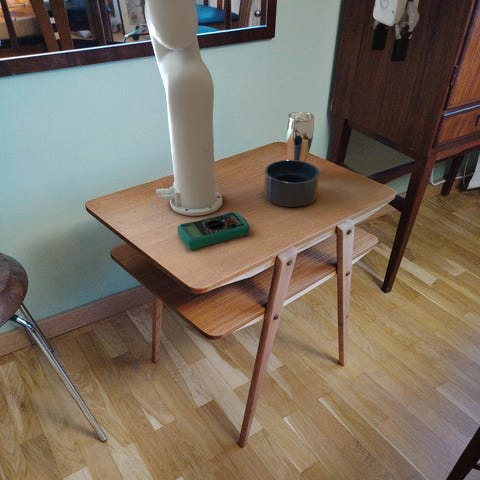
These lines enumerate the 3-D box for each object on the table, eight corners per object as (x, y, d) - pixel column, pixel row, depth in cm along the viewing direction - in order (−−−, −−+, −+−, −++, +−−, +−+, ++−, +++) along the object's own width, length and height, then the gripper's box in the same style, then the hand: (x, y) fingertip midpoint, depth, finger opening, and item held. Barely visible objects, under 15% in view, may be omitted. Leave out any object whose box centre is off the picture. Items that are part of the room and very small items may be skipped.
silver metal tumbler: (296, 166, 125) (301, 109, 114) (313, 174, 121) (321, 116, 111) (277, 172, 122) (281, 115, 111) (295, 181, 118) (300, 123, 107)
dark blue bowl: (271, 211, 106) (272, 185, 102) (258, 186, 116) (259, 162, 111) (323, 206, 108) (326, 180, 104) (307, 182, 117) (309, 158, 113)
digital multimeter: (252, 235, 98) (252, 223, 96) (189, 252, 93) (188, 240, 91) (237, 220, 103) (237, 208, 101) (176, 235, 98) (175, 223, 96)
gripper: (370, -52, 90) (354, 46, 101) (410, -45, 77) (387, 66, 89) (404, -52, 91) (385, 45, 102) (450, -45, 78) (422, 64, 90)
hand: (386, 55), depth 96 cm, fingers open, 9 cm apart
